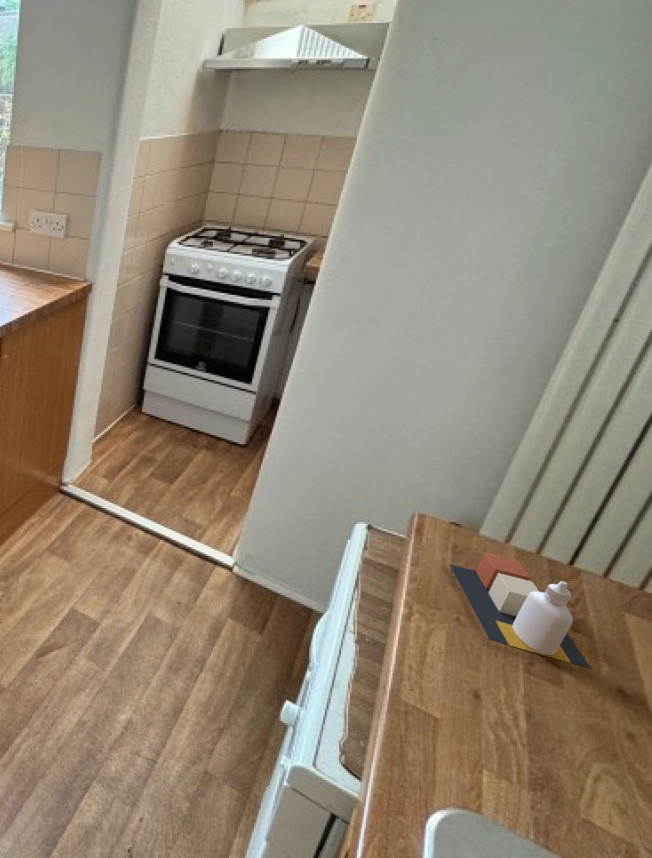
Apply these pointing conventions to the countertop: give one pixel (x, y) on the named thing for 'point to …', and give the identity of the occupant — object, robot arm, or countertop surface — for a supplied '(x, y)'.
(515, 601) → the cream cube
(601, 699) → the countertop surface
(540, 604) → the eye dropper bottle
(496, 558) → the terracotta letter block
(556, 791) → the countertop surface
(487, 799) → the countertop surface
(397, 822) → the countertop surface
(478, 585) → the word mat
